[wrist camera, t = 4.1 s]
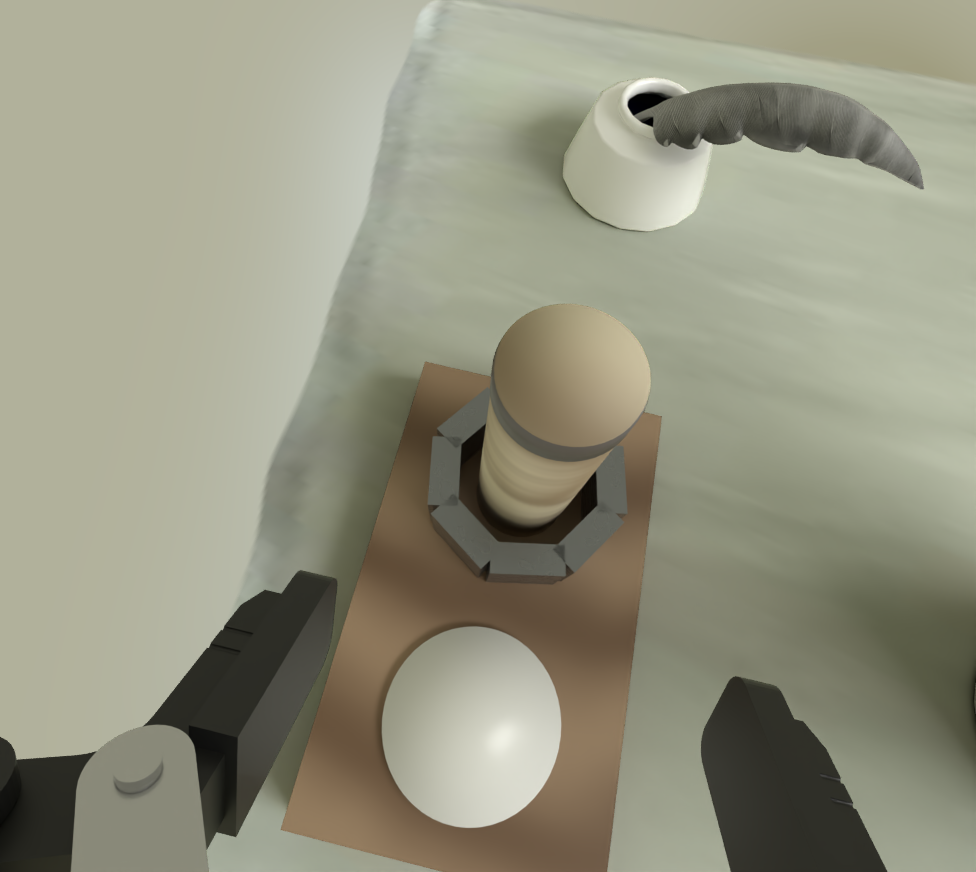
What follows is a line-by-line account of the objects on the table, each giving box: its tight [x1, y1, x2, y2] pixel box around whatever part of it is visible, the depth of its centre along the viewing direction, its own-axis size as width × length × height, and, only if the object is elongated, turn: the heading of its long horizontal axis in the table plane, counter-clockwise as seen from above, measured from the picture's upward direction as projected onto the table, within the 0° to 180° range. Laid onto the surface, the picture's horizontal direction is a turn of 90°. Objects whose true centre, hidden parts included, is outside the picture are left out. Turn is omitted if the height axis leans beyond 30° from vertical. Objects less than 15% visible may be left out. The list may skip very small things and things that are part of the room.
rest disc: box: [382, 626, 561, 828], centre depth 21 cm, size 7×7×1 cm
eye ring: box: [428, 387, 628, 585], centre depth 24 cm, size 8×8×3 cm
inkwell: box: [563, 77, 924, 232], centre depth 30 cm, size 9×18×10 cm, turn 52°
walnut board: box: [281, 362, 662, 872], centre depth 24 cm, size 20×12×2 cm, turn 167°
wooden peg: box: [477, 304, 651, 537], centre depth 19 cm, size 4×4×12 cm
